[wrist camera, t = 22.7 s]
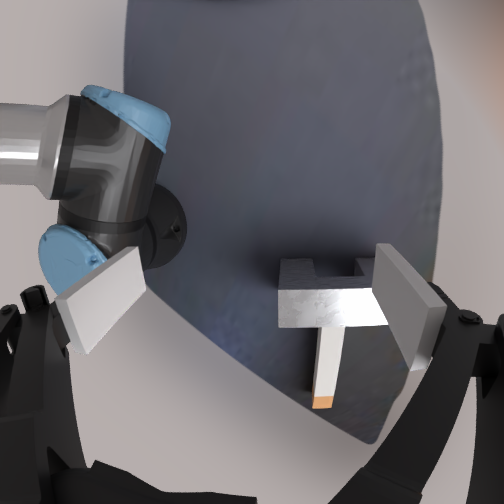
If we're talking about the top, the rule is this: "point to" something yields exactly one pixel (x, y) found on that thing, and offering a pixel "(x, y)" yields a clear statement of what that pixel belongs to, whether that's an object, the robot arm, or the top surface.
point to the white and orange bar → (326, 365)
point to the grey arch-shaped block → (326, 296)
